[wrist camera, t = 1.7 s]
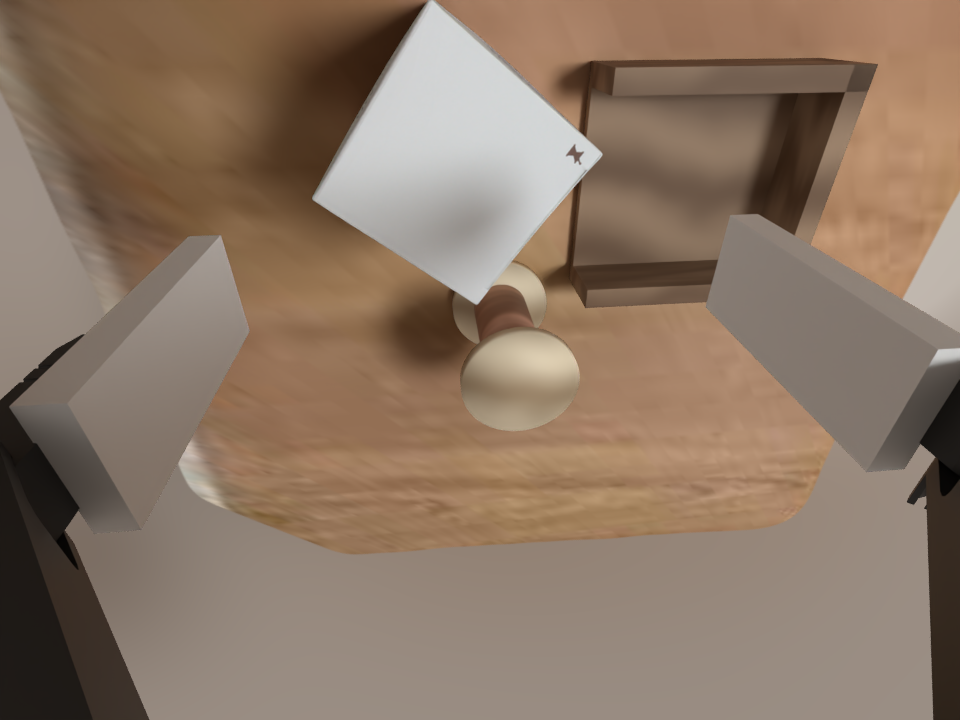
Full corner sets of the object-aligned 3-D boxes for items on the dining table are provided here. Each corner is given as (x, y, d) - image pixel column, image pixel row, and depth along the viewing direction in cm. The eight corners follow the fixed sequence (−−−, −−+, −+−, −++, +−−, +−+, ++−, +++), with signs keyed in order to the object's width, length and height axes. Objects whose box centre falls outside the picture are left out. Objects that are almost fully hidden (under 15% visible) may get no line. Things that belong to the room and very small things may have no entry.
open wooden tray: (591, 60, 35) (615, 67, 30) (822, 58, 36) (877, 64, 31) (569, 278, 44) (585, 307, 39) (754, 270, 45) (790, 297, 40)
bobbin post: (450, 261, 42) (459, 338, 32) (547, 257, 42) (585, 331, 32) (453, 344, 46) (462, 434, 36) (541, 339, 47) (573, 427, 37)
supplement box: (428, -5, 32) (433, -20, 18) (539, 95, 35) (614, 147, 22) (350, 129, 36) (304, 203, 22) (457, 207, 39) (477, 312, 25)
